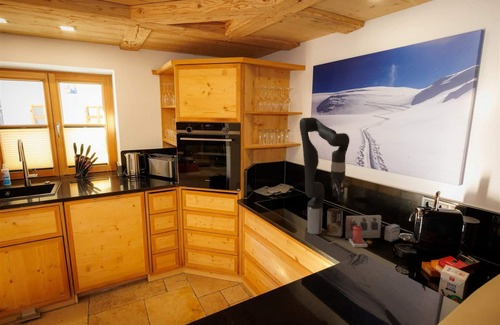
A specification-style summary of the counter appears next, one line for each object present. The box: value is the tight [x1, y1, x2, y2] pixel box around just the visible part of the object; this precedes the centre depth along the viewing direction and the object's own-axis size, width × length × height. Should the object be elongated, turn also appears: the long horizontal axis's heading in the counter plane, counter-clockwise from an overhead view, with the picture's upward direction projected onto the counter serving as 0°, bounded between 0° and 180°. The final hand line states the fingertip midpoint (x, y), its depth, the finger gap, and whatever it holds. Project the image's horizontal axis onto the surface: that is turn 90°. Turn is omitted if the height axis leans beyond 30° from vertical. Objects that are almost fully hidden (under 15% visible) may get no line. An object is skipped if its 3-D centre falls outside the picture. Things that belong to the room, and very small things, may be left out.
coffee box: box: [326, 207, 344, 237], centre depth 170 cm, size 9×6×16 cm
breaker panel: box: [344, 214, 382, 240], centre depth 163 cm, size 4×21×14 cm, turn 91°
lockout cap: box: [352, 225, 362, 244], centre depth 156 cm, size 5×5×10 cm
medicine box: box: [384, 223, 401, 243], centre depth 161 cm, size 8×4×9 cm, turn 118°
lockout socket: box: [348, 238, 368, 248], centre depth 156 cm, size 8×8×2 cm
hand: (337, 198), depth 146 cm, fingers open, 8 cm apart
